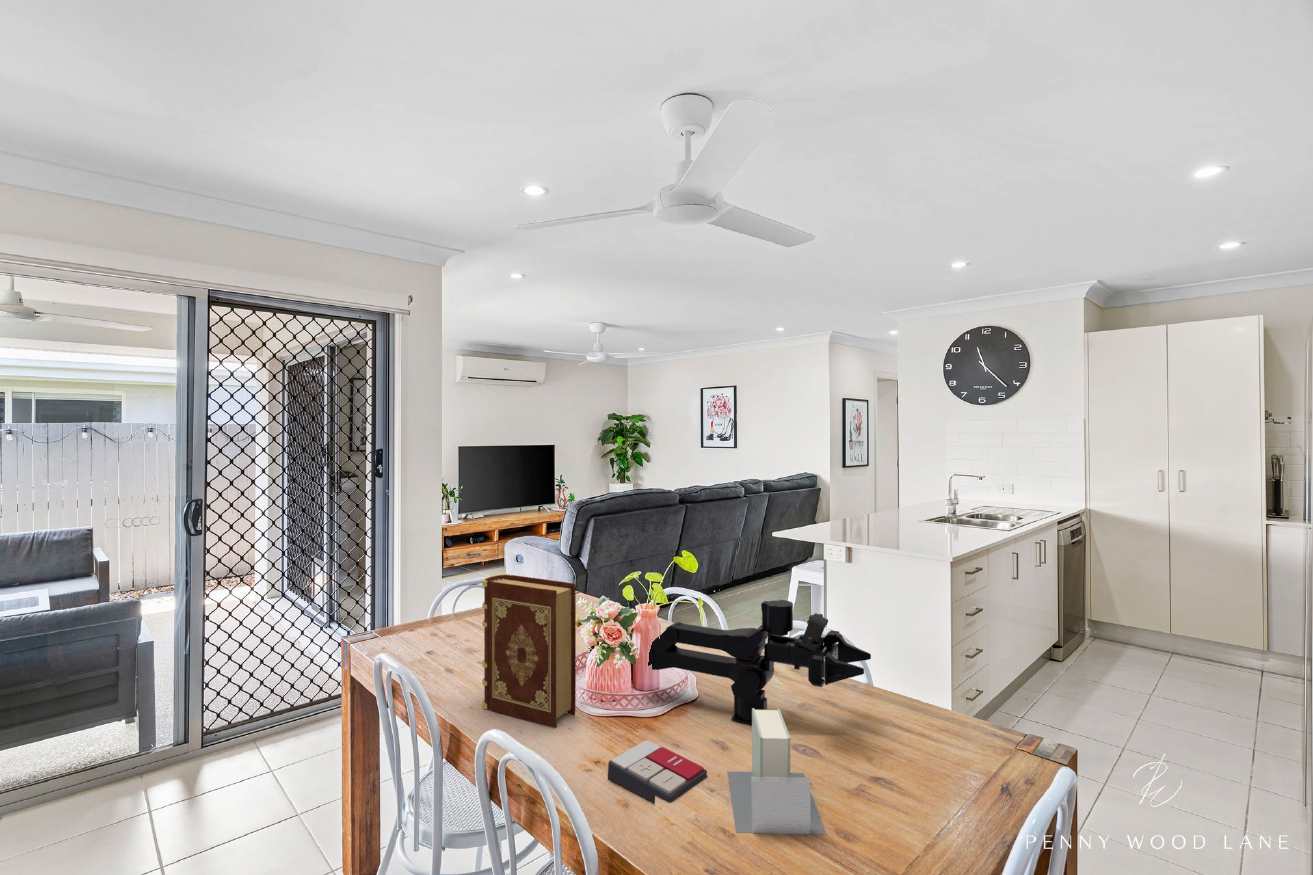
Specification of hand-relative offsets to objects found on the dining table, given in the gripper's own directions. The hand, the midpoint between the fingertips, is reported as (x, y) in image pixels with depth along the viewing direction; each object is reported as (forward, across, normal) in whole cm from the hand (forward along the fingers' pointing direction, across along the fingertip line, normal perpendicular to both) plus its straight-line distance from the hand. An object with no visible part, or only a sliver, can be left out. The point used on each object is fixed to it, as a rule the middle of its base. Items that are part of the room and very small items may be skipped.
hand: (867, 663), depth 127 cm
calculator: (-32, -32, +17) cm, 49 cm away
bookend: (-8, -38, +15) cm, 41 cm away
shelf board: (-11, -30, +17) cm, 36 cm away
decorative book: (-72, -20, +17) cm, 77 cm away
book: (-12, -28, +15) cm, 34 cm away
